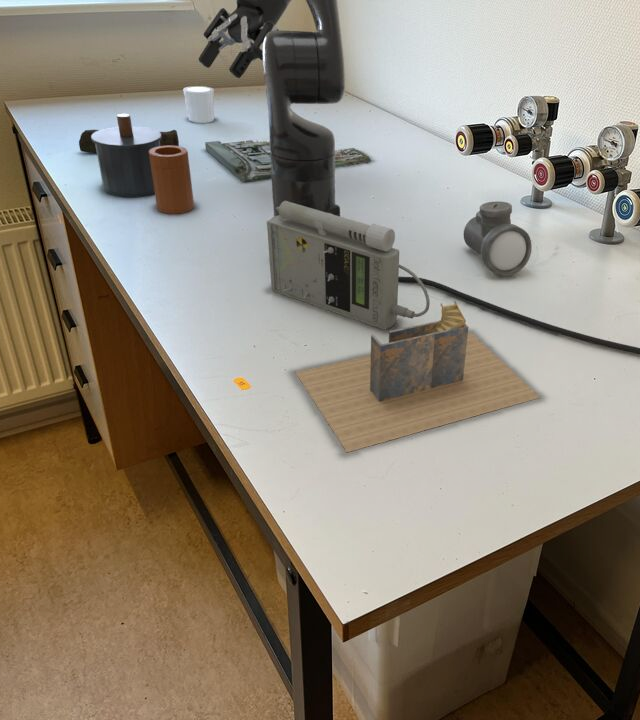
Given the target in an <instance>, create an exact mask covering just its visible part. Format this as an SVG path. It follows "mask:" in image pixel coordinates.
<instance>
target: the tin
mask: <svg viewBox="0 0 640 720" xmlns="http://www.w3.org/2000/svg"><path fill="white" fill-rule="evenodd" d="M95 146H96V151H97V153H96V156H97V161H98V168H99V172H100V177H101V183H102V187H103V191H104V192H105V193H106V194H109V195H111V196H115V197H121V198H140V197H146V196H147V197H148V196H152V195H155V192H154V185H153V178H152V172H151V165H150V158H149V150H150V149H152V148H154V147H158V146H160V141H158V142H157V143H154V144H152V145H148V146H143V147H136V148H111V147H105V146H100V145H97V144H95Z"/></svg>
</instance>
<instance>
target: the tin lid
mask: <svg viewBox="0 0 640 720" xmlns="http://www.w3.org/2000/svg"><path fill="white" fill-rule="evenodd" d="M131 118H132V117H131V115H130V114H128V113H118V114H116V120H117V126H112V127H107V128H102V129H98V130H99V131H96V132H95V133H93V134H92V135H91V140H92V142H94V143H95V144H97V145H100V146H105V147H111V148H136V147H143V146H148V145H152V144H154V143H157V142H158V141H160V140H161V138H162V136H161V133H160V132H161V131H159V130H157V129H155V128H152V127H146V126H138V125H137V126H136V125H133V124H132V119H131Z"/></svg>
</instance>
